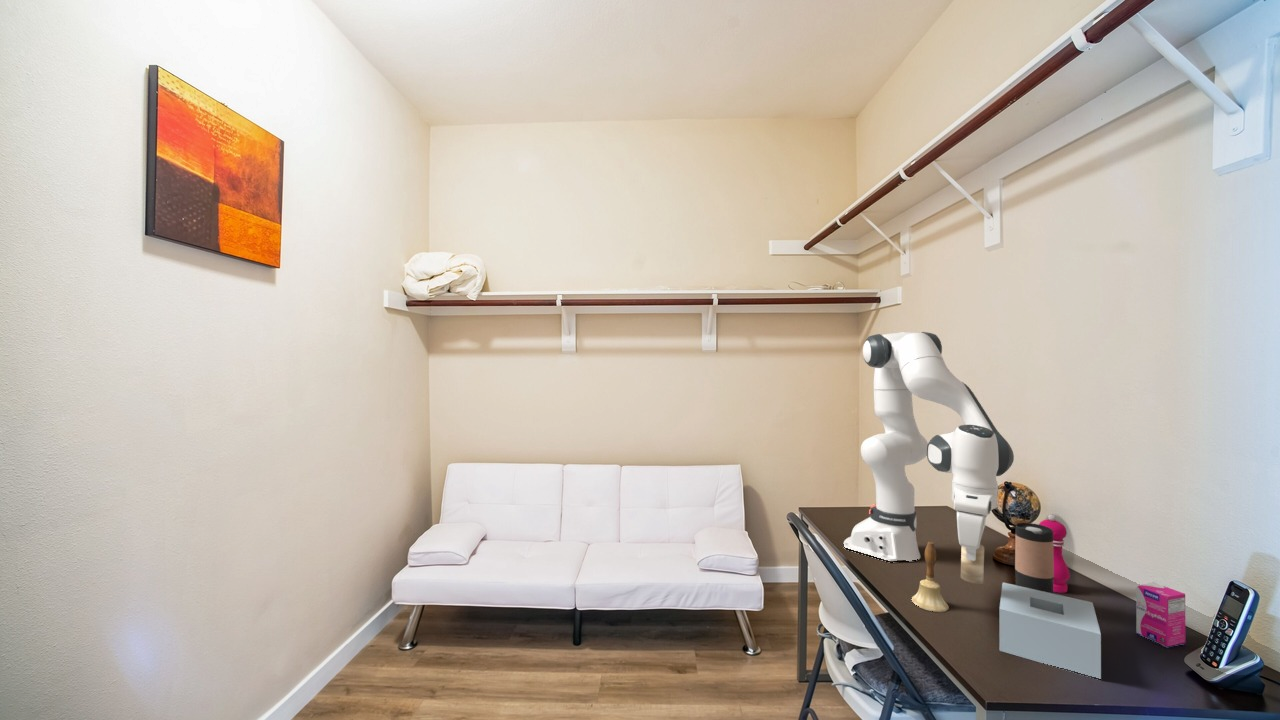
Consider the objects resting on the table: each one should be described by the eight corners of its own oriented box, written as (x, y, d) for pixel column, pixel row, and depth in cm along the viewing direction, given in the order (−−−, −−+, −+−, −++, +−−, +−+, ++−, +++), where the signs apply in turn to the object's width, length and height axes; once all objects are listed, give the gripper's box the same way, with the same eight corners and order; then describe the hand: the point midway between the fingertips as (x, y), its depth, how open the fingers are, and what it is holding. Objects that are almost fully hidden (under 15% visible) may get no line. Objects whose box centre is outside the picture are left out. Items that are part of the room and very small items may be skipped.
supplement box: (1134, 634, 112) (1134, 584, 112) (1153, 631, 114) (1153, 581, 114) (1167, 649, 107) (1167, 596, 107) (1186, 645, 108) (1186, 593, 108)
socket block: (999, 650, 106) (999, 608, 106) (1002, 619, 119) (1002, 582, 119) (1100, 680, 96) (1100, 634, 96) (1092, 643, 109) (1092, 602, 109)
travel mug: (1027, 596, 130) (1027, 520, 130) (1060, 610, 123) (1060, 530, 123) (1008, 602, 127) (1008, 524, 127) (1041, 616, 120) (1041, 534, 120)
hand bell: (946, 600, 128) (946, 539, 128) (950, 615, 121) (950, 550, 121) (910, 594, 132) (910, 534, 132) (912, 608, 125) (911, 544, 125)
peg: (959, 579, 115) (960, 545, 115) (961, 573, 118) (962, 540, 118) (982, 585, 112) (983, 550, 112) (984, 578, 116) (985, 544, 115)
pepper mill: (1076, 595, 131) (1076, 519, 131) (1045, 592, 133) (1045, 518, 133) (1059, 583, 138) (1059, 511, 138) (1029, 580, 140) (1029, 510, 140)
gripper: (962, 484, 125) (961, 538, 125) (952, 503, 109) (950, 565, 109) (993, 489, 121) (991, 544, 121) (987, 510, 105) (985, 574, 105)
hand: (972, 555), depth 115 cm, fingers closed on peg, 4 cm apart
